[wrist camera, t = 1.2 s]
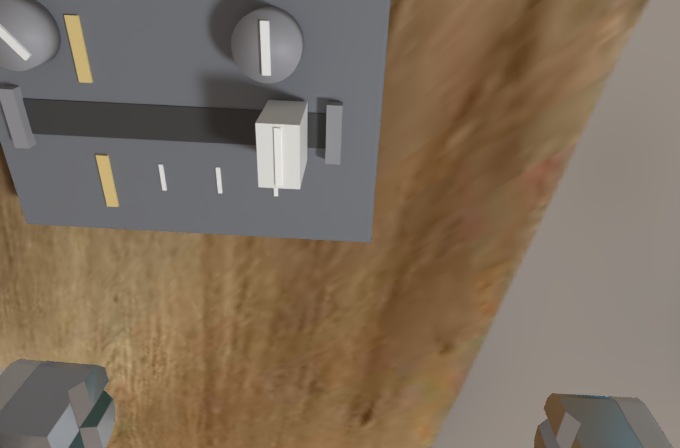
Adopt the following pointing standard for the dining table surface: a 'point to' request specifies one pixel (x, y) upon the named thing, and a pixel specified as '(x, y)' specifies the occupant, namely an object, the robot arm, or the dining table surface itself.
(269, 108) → the fader cap
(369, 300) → the dining table surface
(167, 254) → the dining table surface
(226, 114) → the console
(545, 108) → the dining table surface
